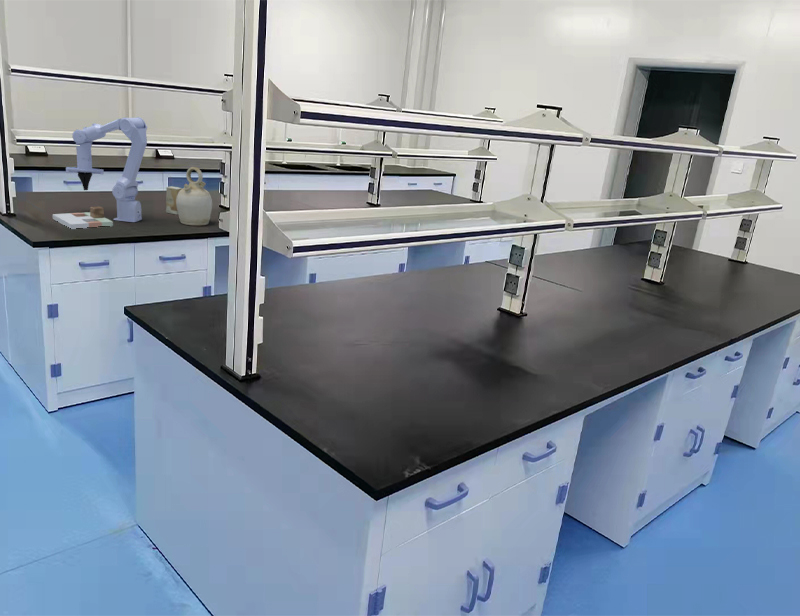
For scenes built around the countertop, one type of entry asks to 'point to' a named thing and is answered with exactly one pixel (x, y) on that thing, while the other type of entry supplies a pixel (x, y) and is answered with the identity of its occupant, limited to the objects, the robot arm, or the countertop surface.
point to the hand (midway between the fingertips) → (86, 189)
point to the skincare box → (172, 199)
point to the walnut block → (97, 212)
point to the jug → (194, 201)
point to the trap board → (81, 220)
